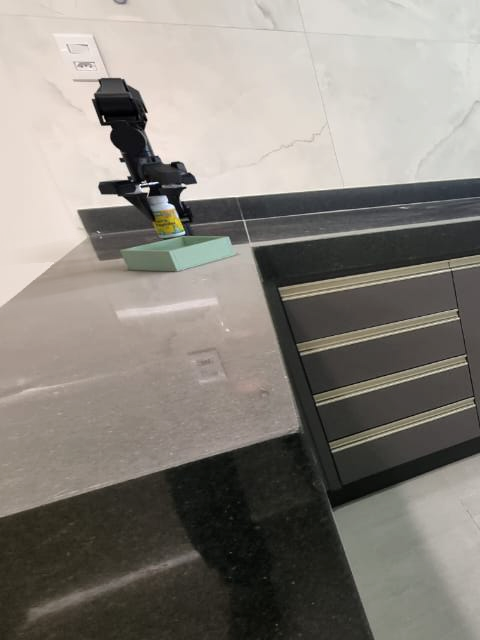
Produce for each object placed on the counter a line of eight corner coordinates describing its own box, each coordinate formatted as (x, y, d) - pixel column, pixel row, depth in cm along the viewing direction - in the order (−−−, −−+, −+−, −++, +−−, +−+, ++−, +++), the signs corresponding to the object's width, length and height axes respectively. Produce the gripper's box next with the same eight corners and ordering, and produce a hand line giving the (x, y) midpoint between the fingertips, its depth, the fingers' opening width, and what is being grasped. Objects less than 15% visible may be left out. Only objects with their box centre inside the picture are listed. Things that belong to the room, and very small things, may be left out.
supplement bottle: (186, 232, 136) (171, 194, 132) (184, 235, 132) (168, 196, 128) (160, 235, 134) (143, 196, 129) (157, 239, 130) (139, 199, 125)
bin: (190, 253, 144) (182, 236, 142) (235, 254, 141) (228, 236, 139) (128, 269, 131) (119, 250, 129) (177, 271, 127) (168, 251, 125)
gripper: (119, 155, 114) (150, 227, 121) (201, 148, 131) (225, 212, 137) (81, 156, 117) (114, 227, 124) (167, 149, 133) (192, 212, 140)
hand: (165, 219), depth 131 cm, fingers closed on supplement bottle, 5 cm apart
